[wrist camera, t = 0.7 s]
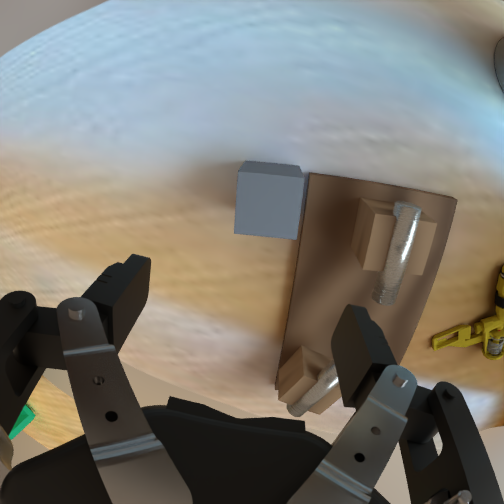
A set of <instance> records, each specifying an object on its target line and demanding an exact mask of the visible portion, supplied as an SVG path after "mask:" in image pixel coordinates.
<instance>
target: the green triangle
mask: <svg viewBox="0 0 504 504" xmlns="http://www.w3.org/2000/svg"><path fill="white" fill-rule="evenodd" d="M35 416H36V415H35V414H34V413H33V412H32V411H31V410H30V409H29V408H28V407H27V406H26V405H25V406H24V408H23V410H22V411H21V413H20V415H19V417H18V419H17V421H16V423H15V425H14V427H13V429H12V430H11V432H10V434H9V436H8V437H9V438H10V440H11V439H13V438H14V437H15V436H16V435H17V434H18V433H19V432H20V431H22V430H23V429H24V428H25V427H26V426H27V425H28V424H29V423H30V422H31V421H32V420H33V419H34V417H35Z"/></svg>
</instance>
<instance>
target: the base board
mask: <svg viewBox="0 0 504 504" xmlns="http://www.w3.org/2000/svg"><path fill="white" fill-rule="evenodd" d="M395 201H405V202H409V203H412V204H415V205H417V206H419V207H421V208H422V210H421V215H420V219H419V223H418V227H417V231H416V235H415V239H414V242H413V246H412V250H411V253H410V257H409V260H408V264H407V267H406V270H405V274H404V277H403V280H402V283H401V286H400V289H399V292H398V295H397V298H396V301H395V304H393V305H391V306H385V305H381V304H378V303H377V302H375V301H374V300H373V299H372V297H371V295H372V292H373V288H374V285H375V281H376V278H377V274H378V271H382V272H383V269H384V266H385V262H386V258H387V254H388V251H389V247H390V243H391V239H392V235H393V230H394V226H395V222H396V216H394V215H393V209H394V204H395ZM456 205H457V199H455V198H453V197H449V196H444V195H440V194H435V193H430V192H425V191H421V190H416V189H410V188H405V187H400V186H394V185H389V184H383V183H377V182H371V181H365V180H359V179H352V178H346V177H339V176H332V175H324V174H317V173H309V179H308V186H307V194H306V202H305V209H304V216H303V223H302V230H301V237H300V244H299V251H298V257H297V264H296V270H295V276H294V282H293V288H292V295H291V300H290V306H289V312H288V318H287V324H286V329H285V335H284V340H283V346H282V351H281V356H280V362H279V367H278V372H277V377H276V382H275V390H278V400H279V401H282V402H284V403H287V404H290V405H293V404H294V403H295V402H296V401H298V400H299V399H300V398H301V397H302V396H303V395H304V394H305V393H306V392H308V391H309V390H310V389H311V388H312V387H313V386H314V385H315V384H316V383H317V382H318V379H317V375H318V374H319V373H320V372H321V371H322V370H323V369H324V368H325V367H326V366H327V365H328V364H329V363H330V362H331V361H332V360H333V354H332V350H331V338H332V335H333V332H334V330H335V328H336V326H337V324H338V322H339V319H340V317H341V315H342V313H343V311H344V309H345V307H346V305H348V304H352V305H357V306H362V307H365V308H366V309H367V311H368V313H369V316H370V318H371V320H373V321H375V322H376V323H377V325H378V326H379V327H380V328H381V329H382V331H383V333H384V335H385V339H386V340H387V342H388V346H390V349H391V351H392V353H393V355H394V358H395V360H396V362H397V365H400V362H401V360H402V358H403V356H404V354H405V352H406V350H407V347H408V345H409V343H410V341H411V338H412V336H413V334H414V332H415V329H416V327H417V324H418V322H419V320H420V317H421V315H422V312H423V310H424V307H425V304H426V302H427V299H428V297H429V294H430V291H431V288H432V286H433V283H434V280H435V277H436V274H437V271H438V268H439V265H440V262H441V259H442V256H443V252H444V249H445V246H446V242H447V239H448V235H449V232H450V228H451V224H452V221H453V217H454V213H455V209H456ZM341 396H342V395H341V390H340V386H339V384H337V385H336V386H335V387H334V388H333V389H332V390H331V391H330V392H329V393H327V394H326V395H325V396H324V397H323V398H322V399H321V400H320V401H318V402H317V403H316V404H315V405H314V406H313V407H311V408H310V409H309V410H308V411H310V412H313V413H316V414H319V415H320V414H321V413H322V412H324V411H325V410H326V409H327V408H328V407H330V406H331V405H332V404H333V403H334V402H336V401H337V400H338V399H339V398H340V397H341Z"/></svg>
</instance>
